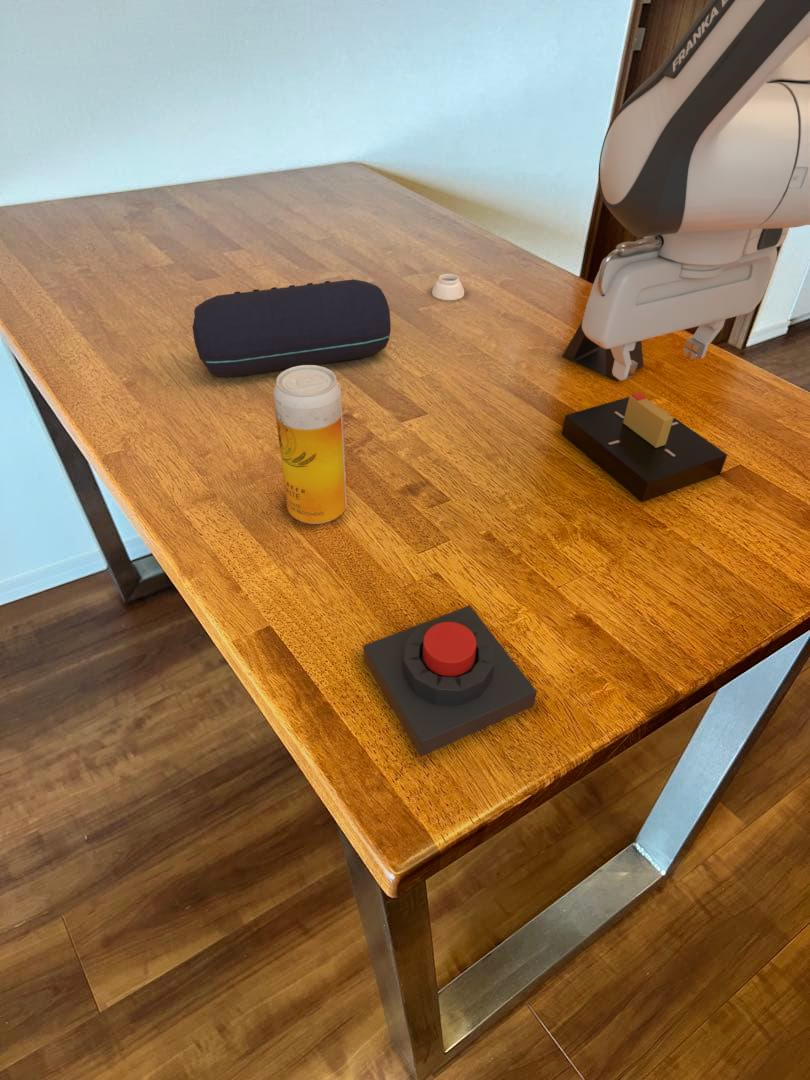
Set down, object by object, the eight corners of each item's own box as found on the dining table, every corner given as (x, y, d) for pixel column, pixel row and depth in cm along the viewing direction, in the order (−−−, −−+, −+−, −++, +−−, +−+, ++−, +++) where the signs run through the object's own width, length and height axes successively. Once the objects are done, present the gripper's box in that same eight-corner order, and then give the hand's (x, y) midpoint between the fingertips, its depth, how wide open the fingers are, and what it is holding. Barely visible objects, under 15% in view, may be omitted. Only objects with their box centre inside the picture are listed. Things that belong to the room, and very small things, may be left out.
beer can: (281, 498, 76) (264, 368, 66) (337, 486, 78) (329, 358, 68) (296, 535, 72) (280, 402, 62) (355, 521, 73) (349, 390, 63)
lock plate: (719, 477, 80) (728, 453, 78) (640, 505, 76) (648, 480, 74) (634, 415, 89) (640, 392, 87) (560, 437, 85) (565, 413, 83)
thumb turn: (665, 444, 79) (674, 415, 76) (655, 448, 78) (664, 418, 76) (632, 420, 83) (639, 390, 80) (622, 423, 82) (629, 393, 80)
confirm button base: (533, 708, 57) (540, 676, 54) (420, 759, 53) (422, 728, 51) (468, 622, 64) (471, 590, 61) (363, 662, 60) (362, 630, 57)
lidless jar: (432, 302, 112) (464, 303, 112) (432, 283, 110) (465, 284, 110) (431, 289, 116) (463, 289, 116) (432, 270, 114) (464, 271, 114)
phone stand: (561, 359, 99) (576, 271, 91) (587, 345, 102) (604, 259, 94) (616, 384, 95) (637, 294, 87) (642, 369, 98) (665, 281, 90)
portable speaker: (375, 334, 104) (374, 264, 97) (396, 367, 97) (397, 294, 90) (196, 359, 98) (182, 286, 91) (205, 395, 91) (191, 320, 84)
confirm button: (484, 665, 55) (486, 650, 54) (438, 684, 54) (439, 669, 53) (458, 629, 58) (459, 615, 57) (413, 647, 57) (414, 632, 56)
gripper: (630, 259, 60) (597, 404, 69) (803, 224, 67) (752, 360, 77) (583, 234, 64) (557, 374, 73) (750, 203, 71) (708, 334, 81)
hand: (658, 366), depth 75 cm, fingers open, 8 cm apart
